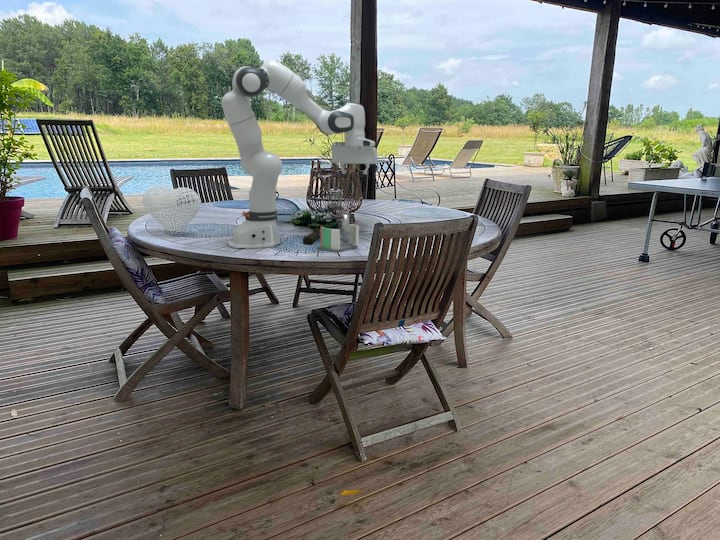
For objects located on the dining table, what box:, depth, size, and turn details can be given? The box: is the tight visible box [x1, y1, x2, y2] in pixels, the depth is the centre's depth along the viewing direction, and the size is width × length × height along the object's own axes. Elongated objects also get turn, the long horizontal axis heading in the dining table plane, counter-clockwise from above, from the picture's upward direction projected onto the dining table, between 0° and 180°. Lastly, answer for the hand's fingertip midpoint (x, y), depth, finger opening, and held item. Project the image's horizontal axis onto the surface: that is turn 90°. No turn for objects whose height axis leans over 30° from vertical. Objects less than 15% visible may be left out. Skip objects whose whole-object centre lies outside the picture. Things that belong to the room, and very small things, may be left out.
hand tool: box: [302, 227, 320, 245], centre depth 226 cm, size 19×4×5 cm, turn 167°
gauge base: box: [316, 226, 358, 254], centre depth 212 cm, size 15×11×9 cm
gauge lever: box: [319, 213, 360, 246], centre depth 208 cm, size 15×9×12 cm, turn 131°
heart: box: [142, 185, 201, 233], centre depth 233 cm, size 28×16×22 cm, turn 65°
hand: (354, 174), depth 224 cm, fingers open, 8 cm apart
